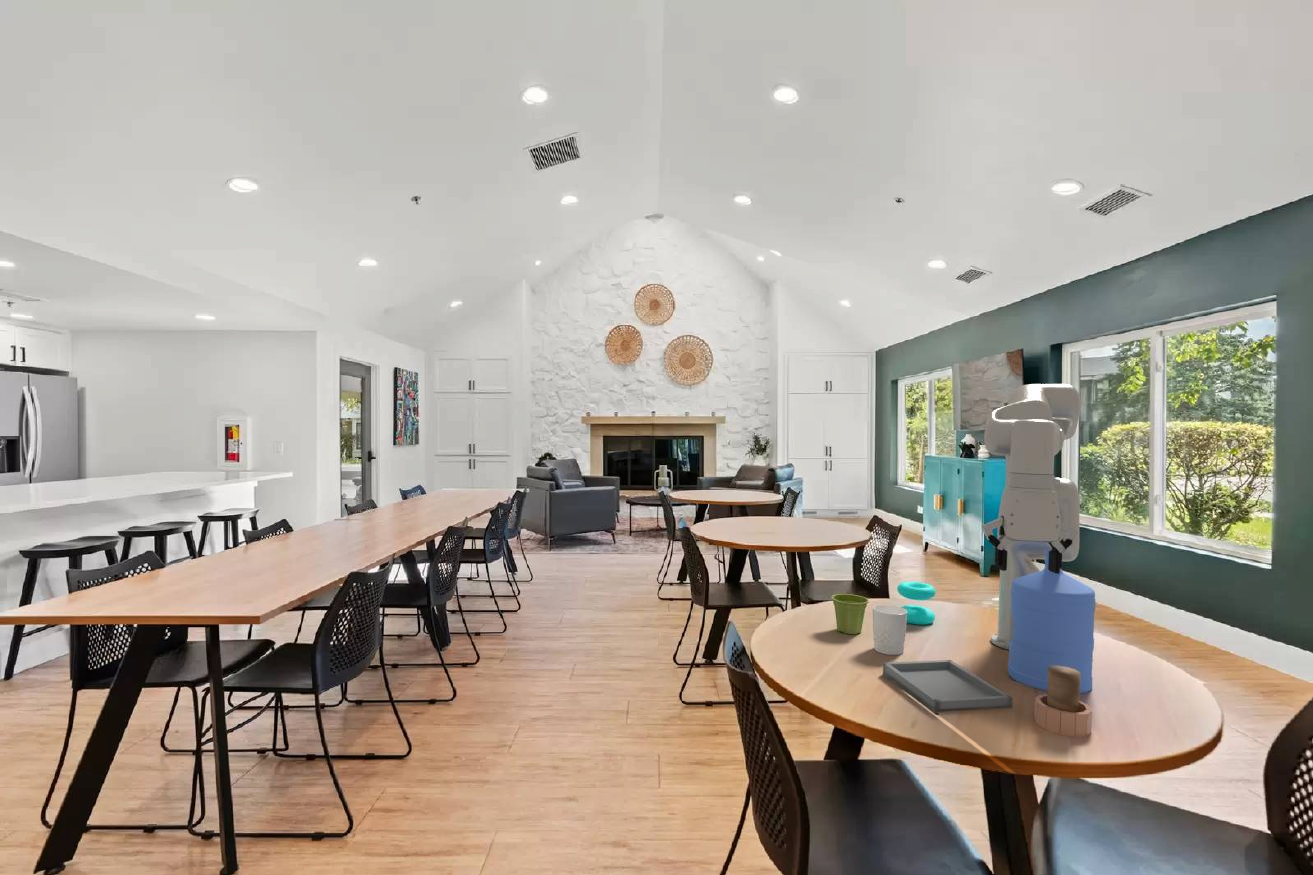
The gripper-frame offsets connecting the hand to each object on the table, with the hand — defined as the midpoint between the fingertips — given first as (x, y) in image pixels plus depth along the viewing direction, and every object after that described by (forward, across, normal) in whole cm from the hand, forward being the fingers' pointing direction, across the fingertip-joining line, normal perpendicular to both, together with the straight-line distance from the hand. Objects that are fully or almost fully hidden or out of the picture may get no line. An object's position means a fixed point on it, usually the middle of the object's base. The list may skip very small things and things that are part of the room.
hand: (1027, 570), depth 130 cm
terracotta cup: (+27, -3, +8) cm, 28 cm away
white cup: (+26, +19, -29) cm, 43 cm away
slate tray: (+27, +13, -6) cm, 30 cm away
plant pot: (+26, +26, -43) cm, 56 cm away
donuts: (+25, +6, -56) cm, 61 cm away
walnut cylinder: (+26, -3, +8) cm, 28 cm away
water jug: (+26, -11, -15) cm, 32 cm away
